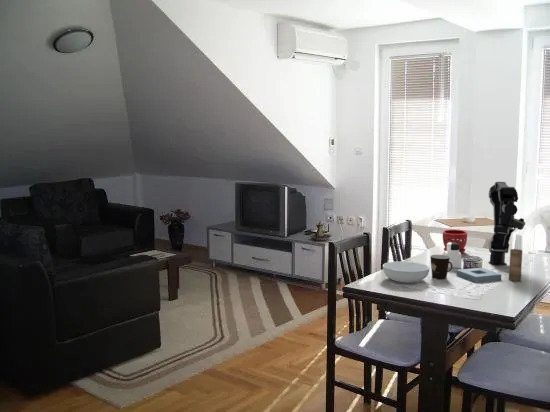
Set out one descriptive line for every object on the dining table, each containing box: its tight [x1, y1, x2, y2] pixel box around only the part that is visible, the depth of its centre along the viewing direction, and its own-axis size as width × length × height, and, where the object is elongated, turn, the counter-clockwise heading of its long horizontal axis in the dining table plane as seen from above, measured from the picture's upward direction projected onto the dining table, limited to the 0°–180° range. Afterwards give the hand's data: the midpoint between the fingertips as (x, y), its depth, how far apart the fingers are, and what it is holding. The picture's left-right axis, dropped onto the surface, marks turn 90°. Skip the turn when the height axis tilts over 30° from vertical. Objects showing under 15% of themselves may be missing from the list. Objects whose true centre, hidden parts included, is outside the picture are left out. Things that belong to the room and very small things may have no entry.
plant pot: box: [442, 229, 468, 254], centre depth 320 cm, size 13×13×12 cm
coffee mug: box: [430, 254, 453, 280], centre depth 263 cm, size 12×9×10 cm
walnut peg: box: [508, 248, 523, 283], centre depth 259 cm, size 5×5×14 cm
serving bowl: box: [382, 261, 431, 284], centre depth 260 cm, size 21×21×7 cm
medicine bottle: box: [443, 242, 463, 269], centre depth 287 cm, size 7×7×12 cm
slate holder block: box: [456, 267, 502, 283], centre depth 265 cm, size 14×14×2 cm
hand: (504, 244), depth 275 cm, fingers open, 9 cm apart
